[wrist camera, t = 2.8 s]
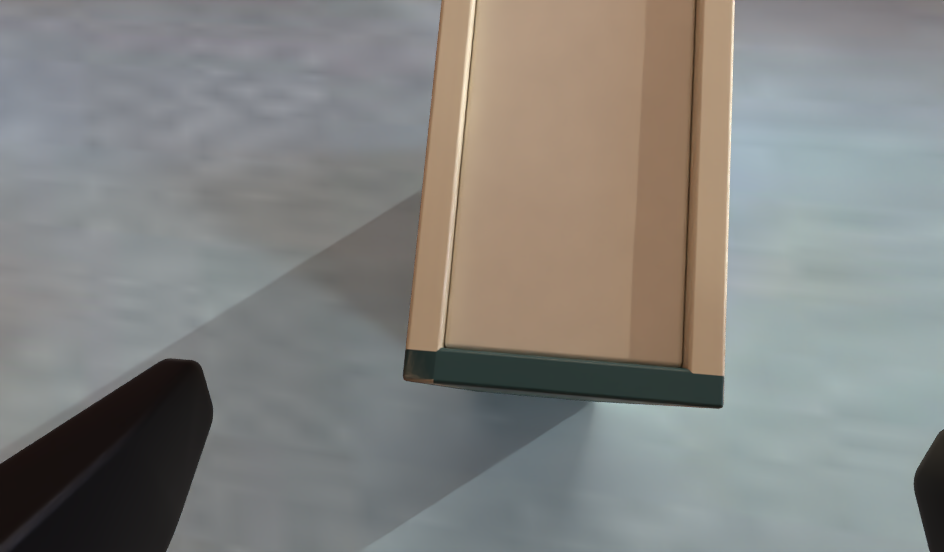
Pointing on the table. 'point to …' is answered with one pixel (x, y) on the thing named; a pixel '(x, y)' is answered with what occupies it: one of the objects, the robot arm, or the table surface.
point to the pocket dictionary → (576, 202)
